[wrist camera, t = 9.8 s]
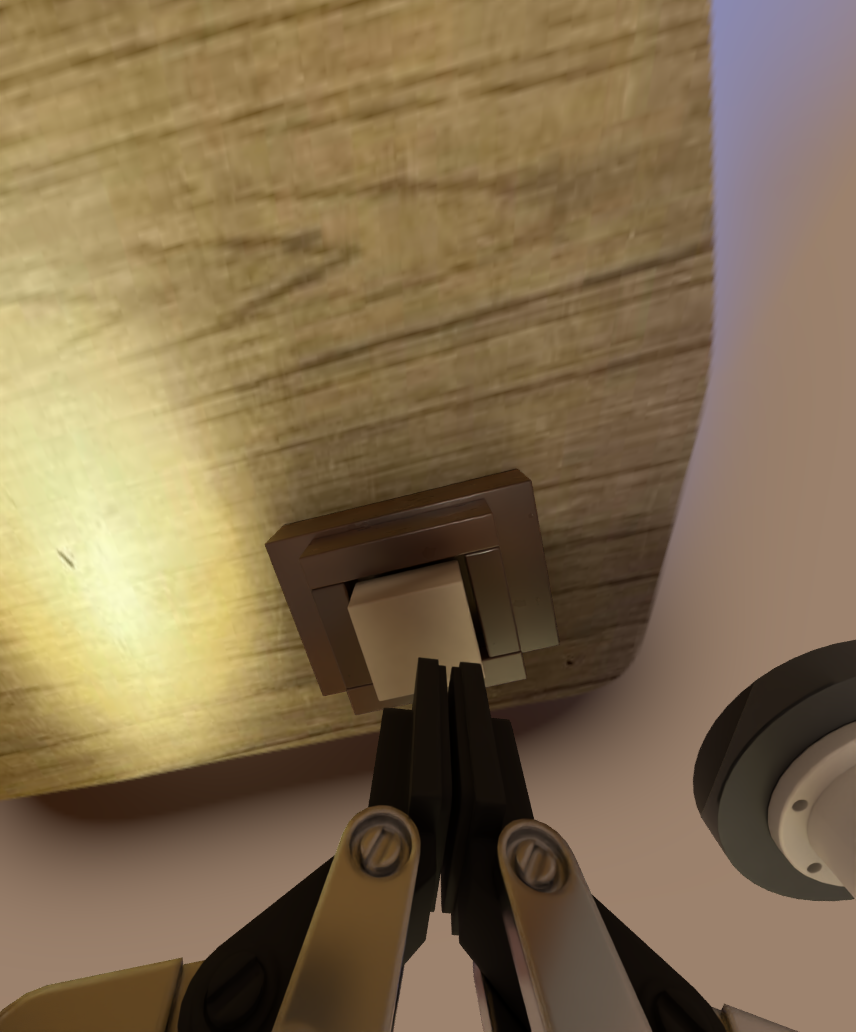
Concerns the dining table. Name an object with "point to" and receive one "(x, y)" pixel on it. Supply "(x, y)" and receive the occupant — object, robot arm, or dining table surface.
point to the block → (415, 544)
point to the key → (413, 625)
